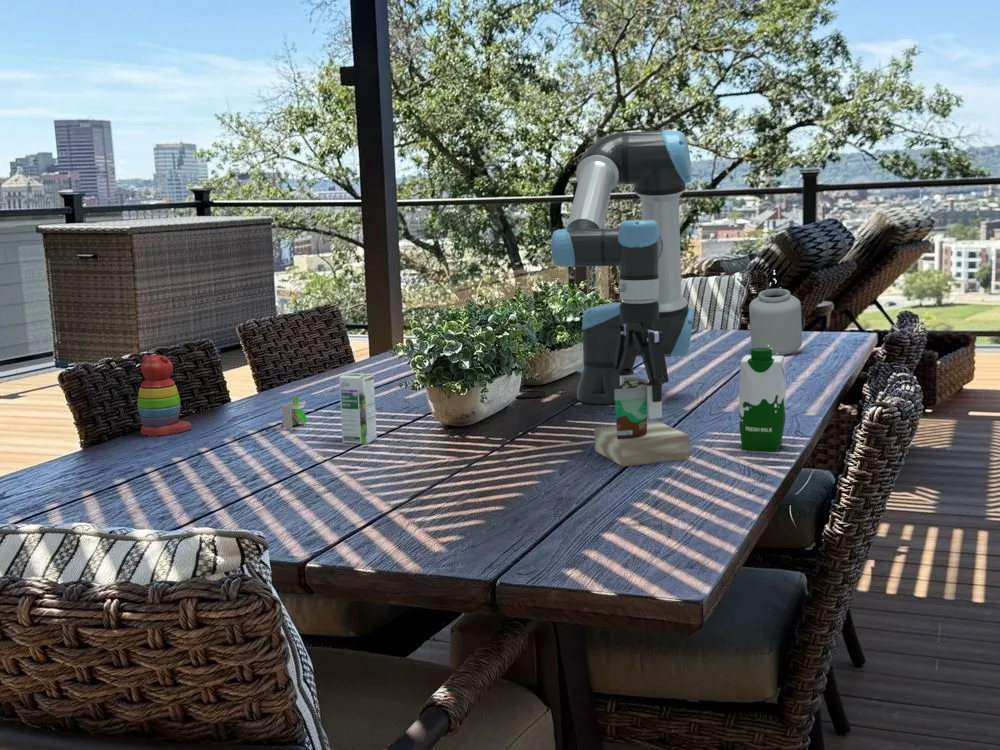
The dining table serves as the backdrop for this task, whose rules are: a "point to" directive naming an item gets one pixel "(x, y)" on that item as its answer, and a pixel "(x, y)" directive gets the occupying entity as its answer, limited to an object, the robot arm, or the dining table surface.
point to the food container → (631, 408)
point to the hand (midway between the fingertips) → (640, 412)
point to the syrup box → (357, 408)
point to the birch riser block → (643, 445)
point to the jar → (776, 321)
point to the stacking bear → (159, 398)
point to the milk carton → (762, 400)
